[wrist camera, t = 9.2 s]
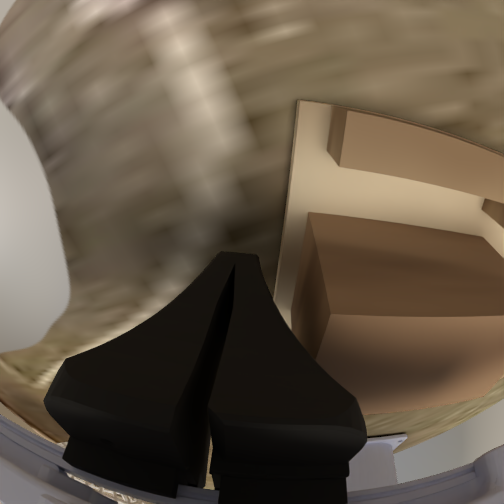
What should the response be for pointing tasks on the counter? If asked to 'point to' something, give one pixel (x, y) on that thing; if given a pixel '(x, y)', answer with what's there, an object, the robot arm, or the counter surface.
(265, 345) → the robot arm
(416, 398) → the tan upright prism
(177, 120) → the counter surface
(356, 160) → the tapered wooden tray
